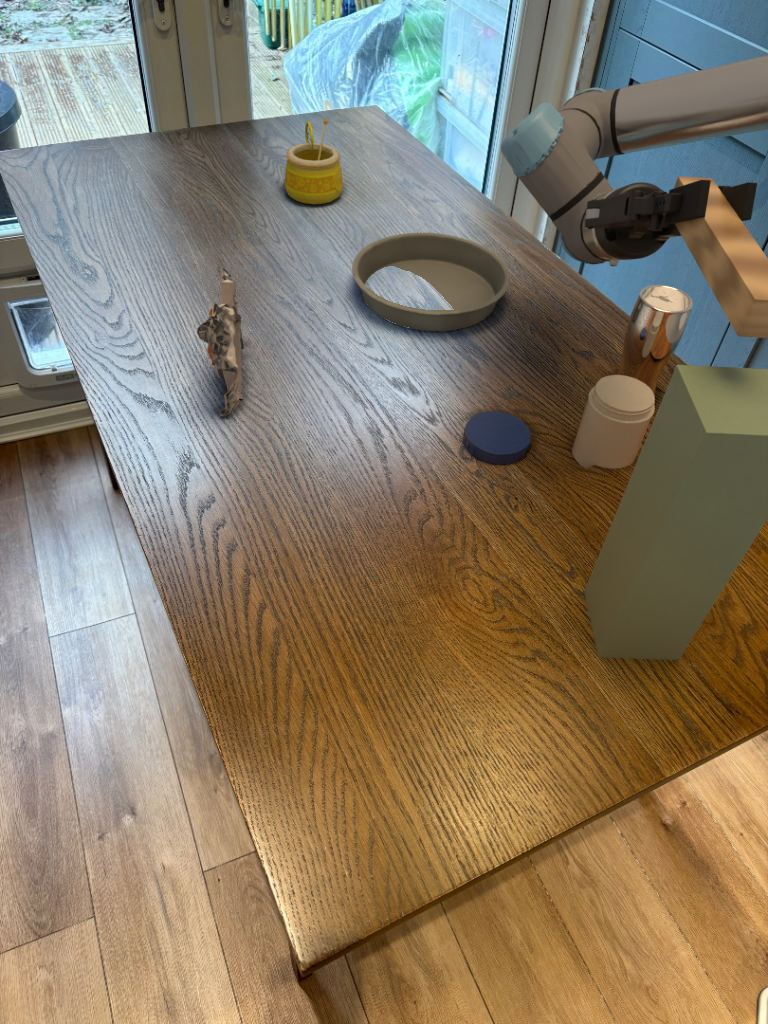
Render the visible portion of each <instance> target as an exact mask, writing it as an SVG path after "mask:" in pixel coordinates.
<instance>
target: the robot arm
mask: <svg viewBox="0 0 768 1024" xmlns="http://www.w3.org/2000/svg"><path fill="white" fill-rule="evenodd" d="M767 130H768V54H767V55H764V56H757V57H754V58H750V59H745V60H741V61H740V60H739V61H736V62H732V63H731V62H730V63H726V64H722V65H719V66H714V67H709V68H704V69H699V70H695V71H690V72H687V73H681V74H677V75H673V76H668V77H664V78H659V79H655V80H650V81H646V82H641V83H637V84H632V85H628V86H623V87H620V88H615V89H608V90H607V89H605V88H602V87H590V88H586V89H584V90H582V91H580V92H577V93H576V94H574V95H573V96H572V97H570V98H568V100H566V101H565V103H564V104H563V106H562V107H561V108H560V109H558V110H557V109H556V108H555V107H554V106H553V104H552V103H549V102H542V103H540V104H539V105H538V106H537V107H535V109H533V110H532V111H531V112H530V113H529V114H528V115H527V116H526V117H525V118H524V119H523V120H522V121H521V122H519V123H518V124H517V125H516V127H514V128H513V129H512V130H511V131H510V132H509V133H508V134H507V135H506V136H505V137H504V138H503V139H502V141H501V143H500V152H501V154H502V155H503V157H504V158H505V160H506V161H507V163H508V164H509V166H510V168H511V169H512V172H513V174H514V175H515V176H516V177H517V178H518V179H519V181H521V183H522V185H524V187H525V189H526V190H528V192H529V194H530V195H531V196H532V197H533V198H534V200H535V201H536V202H537V203H538V205H539V206H540V207H541V208H542V210H543V211H544V212H545V214H546V215H547V217H548V218H549V219H550V220H551V222H552V224H553V225H554V226H555V228H556V229H557V231H558V232H559V235H560V242H561V245H562V248H563V249H564V251H565V253H566V254H567V255H568V256H569V257H570V258H572V259H573V260H575V261H577V262H580V263H585V264H588V265H593V266H595V265H600V264H605V263H606V262H608V263H609V266H610V267H617V266H618V265H619V261H631V260H640V259H644V258H646V257H650V256H652V255H653V254H655V253H656V252H658V251H659V250H661V248H663V246H664V245H665V243H666V242H667V241H668V240H669V239H670V238H674V237H682V236H681V234H680V232H679V231H678V229H677V227H676V225H675V223H679V222H683V221H688V220H693V219H698V218H703V217H705V214H706V208H707V202H708V195H709V189H710V183H711V180H699V181H696V182H693V183H689V184H686V185H683V186H680V187H677V188H674V187H673V188H671V189H669V190H668V192H667V191H664V190H663V189H662V188H660V187H659V186H657V185H655V184H653V183H651V182H643V181H640V182H632V183H629V184H626V185H624V186H621V187H617V188H615V189H614V188H613V186H612V185H611V184H610V182H609V181H608V179H607V178H606V177H605V175H604V173H603V172H602V171H601V169H600V168H599V166H598V165H597V164H596V163H595V161H596V160H598V159H600V160H601V159H604V158H605V159H606V158H611V157H617V156H621V155H622V156H623V155H625V154H631V153H638V152H643V151H648V150H656V149H662V148H667V147H674V146H678V145H683V144H684V145H685V144H690V143H696V142H703V141H708V140H714V139H719V138H726V137H731V136H738V135H743V134H749V133H754V132H755V133H756V132H761V131H767ZM717 186H718V188H719V189H720V191H721V192H722V194H723V195H724V196H725V198H726V199H727V201H728V202H729V204H730V205H731V206H732V208H733V209H734V211H735V212H736V214H737V215H738V217H739V218H740V219H741V221H742V222H745V221H751V220H752V215H753V211H754V205H755V204H754V203H755V198H756V193H757V188H758V182H749V181H748V182H744V183H740V184H737V185H733V186H732V185H717Z"/></svg>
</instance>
